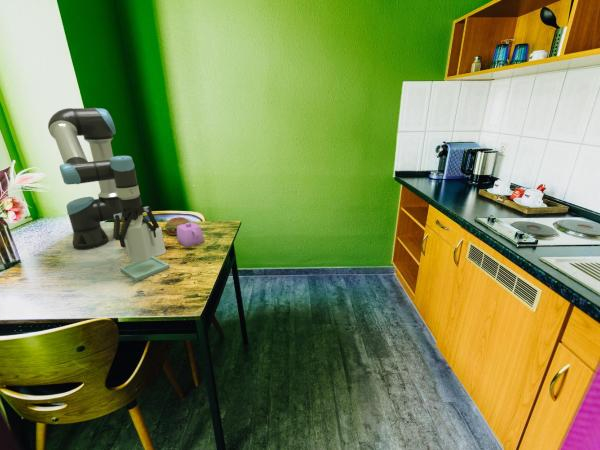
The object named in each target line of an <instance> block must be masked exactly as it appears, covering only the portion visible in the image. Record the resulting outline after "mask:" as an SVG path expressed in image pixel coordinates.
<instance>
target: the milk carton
mask: <svg viewBox="0 0 600 450" xmlns="http://www.w3.org/2000/svg"><path fill="white" fill-rule="evenodd" d="M143 216H144V215H143V214H142V215H140V217H139V216H138V219H136V220H133V219H132V220H131V223H130V224H129V227H128V230H127V232H126V235H125V239H127V243H128V247H129V252H130V255H127V256H128V260H129V263H134V262H147V261H149V259H150V258H151V257H152V256H153V255H154V251H153V246H152V241H151V236H150V231H149V227H148V226H147V224H146V223H145V222H143V221H142V219H143Z"/></svg>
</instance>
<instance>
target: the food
mask: <svg viewBox="0 0 600 450" xmlns="http://www.w3.org/2000/svg"><path fill="white" fill-rule="evenodd" d="M191 222H192V220H189V219H187V218H185V217H183V216H182V217H181V216H178V217H173V218H170V219H168V221H167V222H166V223H165V225H164V228H165V230H166V232H167V234H168V235H170V236H177V226H179V225H180V224H186V223H191Z"/></svg>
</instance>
